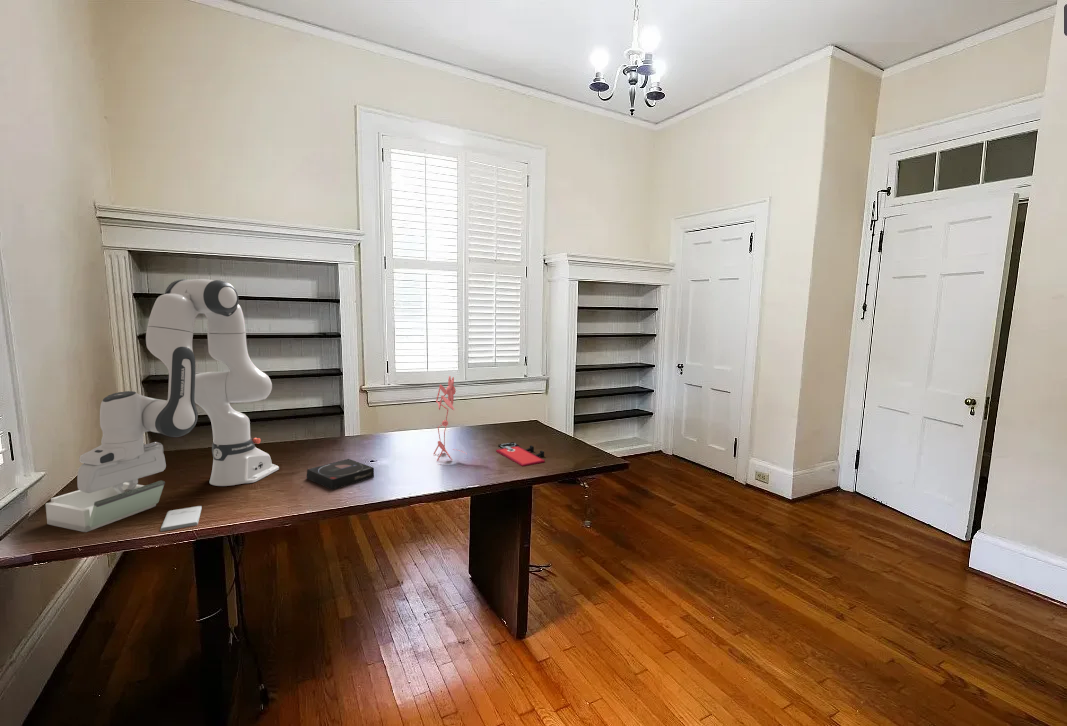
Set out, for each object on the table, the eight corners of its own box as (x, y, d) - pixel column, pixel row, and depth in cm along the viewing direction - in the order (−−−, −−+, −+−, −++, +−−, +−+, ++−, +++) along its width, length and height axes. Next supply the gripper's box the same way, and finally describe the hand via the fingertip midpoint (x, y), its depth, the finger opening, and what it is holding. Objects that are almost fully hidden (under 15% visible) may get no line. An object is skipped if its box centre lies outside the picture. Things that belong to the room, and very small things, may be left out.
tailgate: (155, 500, 140) (162, 480, 138) (158, 502, 139) (165, 482, 138) (87, 525, 123) (94, 502, 122) (91, 527, 123) (97, 504, 121)
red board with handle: (516, 443, 220) (488, 448, 212) (516, 437, 220) (488, 442, 212) (552, 462, 195) (522, 468, 187) (552, 455, 195) (522, 461, 187)
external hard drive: (160, 533, 125) (168, 515, 135) (197, 527, 129) (201, 510, 140) (160, 527, 125) (167, 510, 135) (197, 521, 129) (201, 505, 139)
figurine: (438, 467, 182) (441, 380, 179) (428, 449, 206) (430, 372, 203) (475, 464, 188) (479, 380, 185) (462, 447, 212) (464, 372, 208)
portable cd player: (347, 468, 180) (347, 458, 180) (373, 478, 170) (373, 467, 170) (306, 479, 167) (306, 469, 166) (332, 491, 157) (332, 479, 157)
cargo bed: (120, 499, 144) (119, 478, 143) (156, 506, 140) (154, 484, 140) (47, 524, 127) (45, 500, 126) (85, 532, 123) (83, 507, 122)
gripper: (154, 439, 140) (157, 482, 141) (71, 458, 120) (75, 508, 122) (169, 441, 138) (172, 485, 139) (87, 461, 119) (91, 512, 120)
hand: (126, 496), depth 130 cm, fingers closed, pressing on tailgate
